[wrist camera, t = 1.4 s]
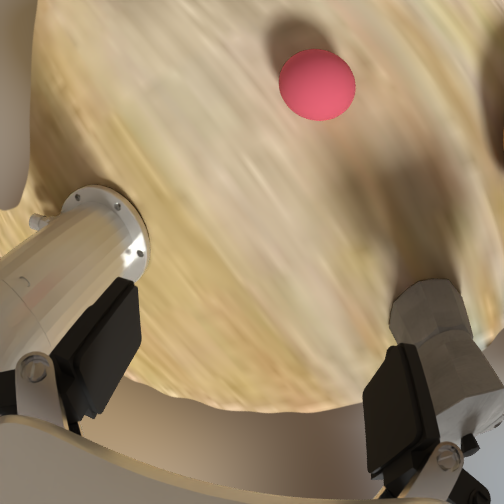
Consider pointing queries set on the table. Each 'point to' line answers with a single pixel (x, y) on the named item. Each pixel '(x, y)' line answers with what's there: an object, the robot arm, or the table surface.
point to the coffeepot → (449, 361)
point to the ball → (317, 84)
